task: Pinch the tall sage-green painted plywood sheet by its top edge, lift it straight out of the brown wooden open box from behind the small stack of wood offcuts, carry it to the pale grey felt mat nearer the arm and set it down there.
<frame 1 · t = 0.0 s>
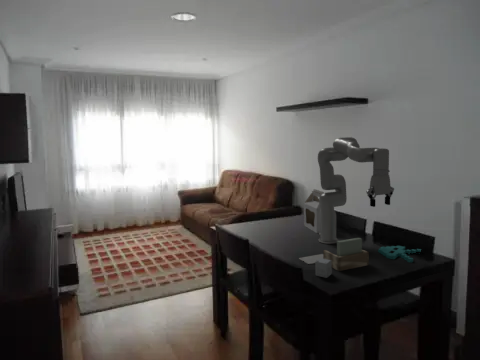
hand: (380, 205, 192), 31 cm above the table, fingers open, 9 cm apart
gable box: (318, 228, 268), on the table
alien figure: (397, 255, 210), on the table
felt mat: (315, 259, 205), on the table
skincare box: (323, 275, 182), on the table
sheet: (349, 265, 193), on the table
brown wooden open box: (345, 263, 196), on the table
offcut top: (343, 255, 198), point 4 cm above the table, touching offcut middle
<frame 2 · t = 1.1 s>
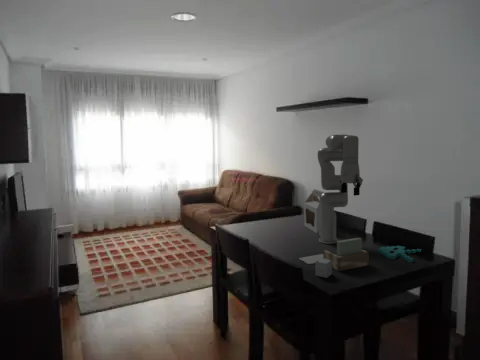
hand: (350, 193, 189), 38 cm above the table, fingers open, 9 cm apart
offcut middle: (341, 259, 198), point 2 cm above the table, touching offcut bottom, offcut top
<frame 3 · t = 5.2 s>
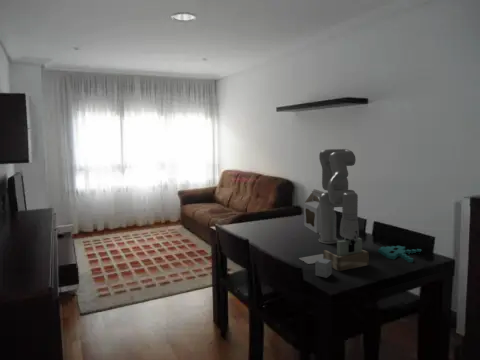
hand: (349, 250, 192), 8 cm above the table, fingers closed on sheet, 2 cm apart
sheet: (349, 265, 193), on the table, touching gripper
offcut middle: (344, 259, 197), point 2 cm above the table, touching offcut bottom
offcut top: (345, 255, 197), point 4 cm above the table
when the fingers open (9 cm above the table, at t = 15.4 s): sheet stays where it is, resting on felt mat.
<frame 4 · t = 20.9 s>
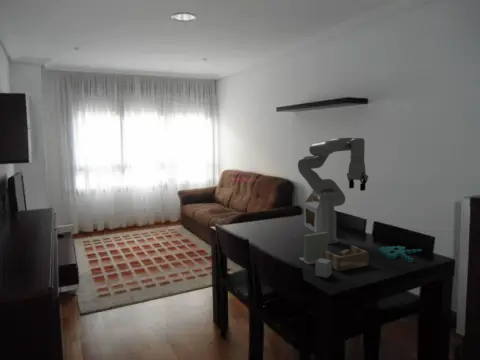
hand: (357, 189, 214), 36 cm above the table, fingers open, 9 cm apart
sheet: (315, 258, 205), resting on felt mat
offcut middle: (345, 258, 197), point 3 cm above the table, tilted 7°
offcut top: (344, 254, 197), point 5 cm above the table, tilted 8°
at the end: sheet inside the target area (0.1 cm from its centre), resting on felt mat; sheet moved 19.0 cm from its start; the gripper is holding nothing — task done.
